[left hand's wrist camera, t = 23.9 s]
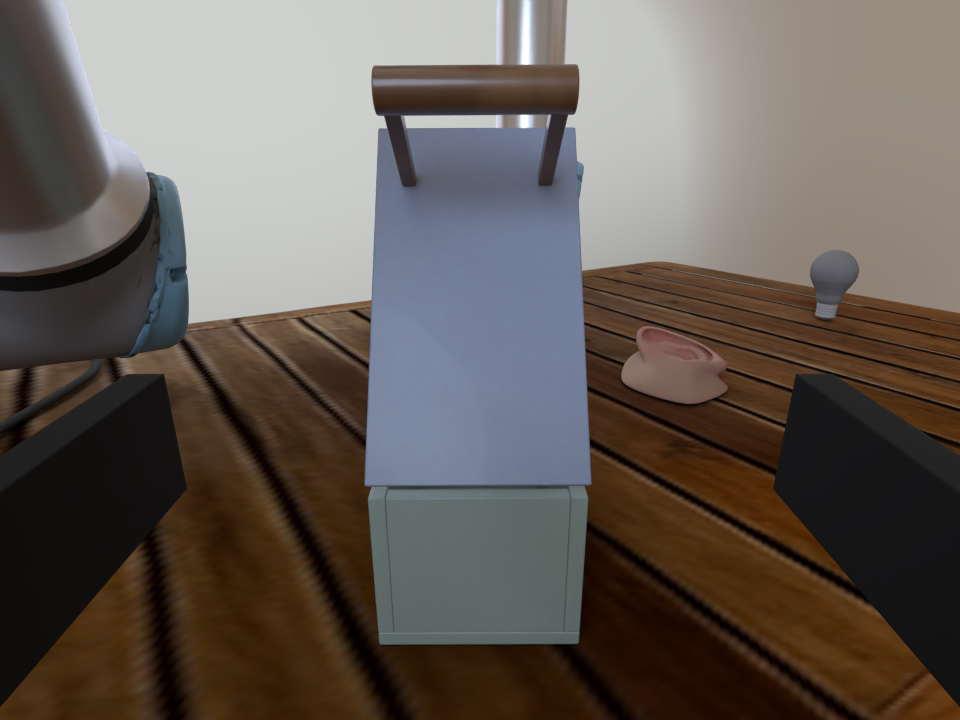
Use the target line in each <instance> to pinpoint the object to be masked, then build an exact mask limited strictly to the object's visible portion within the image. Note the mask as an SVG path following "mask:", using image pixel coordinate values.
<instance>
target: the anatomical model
mask: <svg viewBox="0 0 960 720" xmlns="http://www.w3.org/2000/svg"><path fill="white" fill-rule="evenodd" d="M636 340H637V346H638V349H639V351H638V352H636V353H635V354H633V355H632V356H631V357H630V358H629V359H628V360H627V361H626V363H625V365H624V367H623V370H622V374H621V378H622V381H623V382H624V384H626V385H627V386H628V387H630V388H632V389H634V390H636V391H639V392H641V393H644V394H647V395H650V396H653V397H657V398H660V399H664V400H668V401H672V402H676V403H683V404H697V403H702V402H705V401H708V400H711V399H713V398H716V397H718V396H720V395H722V394H723V393H725V392H726V391H727V390H728V387H727V385H726V384H725V383H724V382H723V381H722V380H721V379H720V378H719V376H718V375H719V374H721V373H722V372H724V371H725V370H726V368H727V363H726V361H725V360H723V359H722V358H721V357H720V356H718V355H717V354H716V353H715V352H713V351H712V350H711V349H709V348H708V347H706V346H704V345H703V344H701V343H699V342H697V341H694V340H692V339H690V338H687V337H684V336H682V335H679V334H676V333H674V332H670V331H667V330H664V329H660V328H656V327H650V326H647V327H642V328H640V329H639V331H638V332H637V337H636Z"/></svg>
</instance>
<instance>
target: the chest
mask: <svg viewBox="0 0 960 720" xmlns="http://www.w3.org/2000/svg"><path fill="white" fill-rule="evenodd" d="M368 507H369V519H370V532H371V545H372V557H373V570H374V582H375V595H376V607H377V620H378V631H379V643H380V644H381V645H435V644H578V643H579V633H580V632H579V630H580V618H581V603H582V588H583V572H584V557H585V542H586V526H587V511H588V495H587V492H586V489H585V486H428V487H372V488H371V491H370V494H369V497H368Z"/></svg>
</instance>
